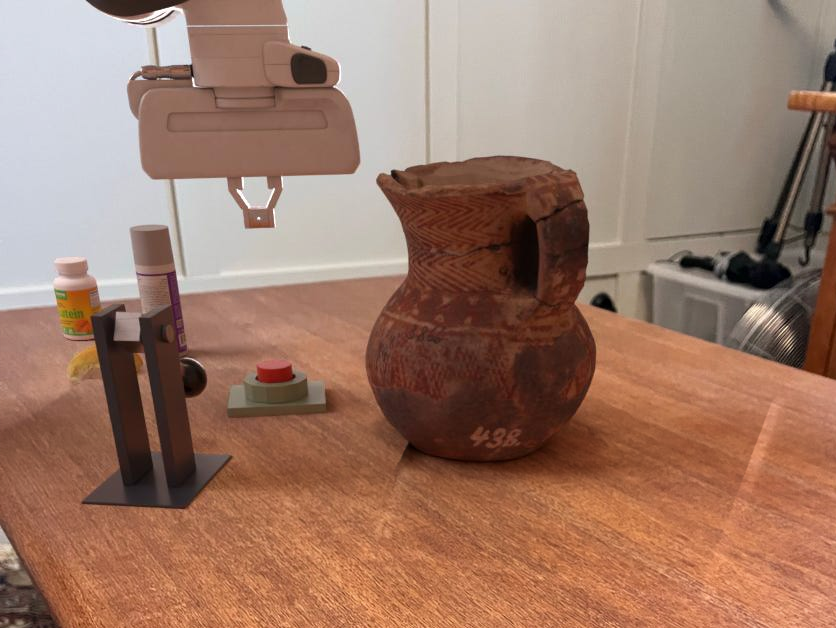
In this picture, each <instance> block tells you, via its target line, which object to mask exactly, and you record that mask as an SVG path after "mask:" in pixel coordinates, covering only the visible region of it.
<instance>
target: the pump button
mask: <svg viewBox="0 0 836 628" xmlns="http://www.w3.org/2000/svg"><path fill="white" fill-rule="evenodd" d="M292 369H293V363H292V362H291V361H289V360H286V359H268V360H263V361H260V362H258V363H257V364H256V371H257V374H258V381H259V382H262V383H282V382H287V381H291V380H292V379H293V373H292Z"/></svg>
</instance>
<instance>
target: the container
mask: <svg viewBox="0 0 836 628" xmlns="http://www.w3.org/2000/svg"><path fill="white" fill-rule="evenodd" d="M129 234H130V240H131V247H132V255H133V263H134V269H135V276H136V281H137V286H138V293H139V300H140V305H141V312H142V313H143V314H145V313H147V312H149V311H150V310H152V309H154V308H155V307H157V306H159V305H171V308H172V314H173V321H174V327H175V333H176V340H177V346H178V353H179V358H183V357H185V356H187V355H188V353H189V351H188V350H189V349H188V344H187V343H188V342H187V337H186V328H185V324H184V323H185V322H184V315H183V310H182V302H181V296H180V290H179V282H178V275H177V270H176V264H175V259H174V252H173V246H172V242H171V241H172V240H171V235H170V234H171V233H170V228H169V226H168V225H166V224H165V225H164V224H141V225H135V226H131V227H129Z"/></svg>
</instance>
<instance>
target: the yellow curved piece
mask: <svg viewBox="0 0 836 628" xmlns="http://www.w3.org/2000/svg"><path fill="white" fill-rule="evenodd" d="M133 354H134V360H135V365H136V371H137V373H138V372H139V370H140V367H141V366H144V361H143V359H142V357H141V355H140V354H139V353H133ZM66 377H67V379H68V381H69V382H70V383H71V384H72V385H74V386H78V385H79V384H81V383H82V382H84V381H85V380H91V379H92V380H102V375H101V369H100V364H99V359H98V354H97V349H96V344H93V345H92V346H89V347H87V348H85V349H83V350H81V351H79V352H77V353H76V354H75V356H73V358H72V359H71V361H70V362H69V363H68V365H67V367H66Z"/></svg>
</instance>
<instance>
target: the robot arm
mask: <svg viewBox="0 0 836 628" xmlns="http://www.w3.org/2000/svg"><path fill="white" fill-rule="evenodd" d="M85 2H86V3H88V4H89V5H90V6H92V7H93V8H94V9H96V10H97V11H98V12H100V13H102V14H103V15H106V16H108V17H110V18H112V19H115V20H118V21H119V22H122V23H124V24H126V25H129V26H131V27H136V28H140V29H141V28H142V29H152V28H159V27H161V26H163V25H166V24H168V23H170V22H172V21H174V20H175V19H176V18H177V17H178V16H179V15H180V14H181V13H182V14H183V16H184V18H185V23H186V30H187V37H188V46H189V53H190V61H191V63H190V64H171V65H162V66H161V65H160V66H159V65H158V66H157V65H154V64H153V65H152V64H149V65H148V64H147V65H142V66H140V69H139V70H137V71H135V72H133V73H132V74H131V75H130V77H129V78H128V80H127V84H126V92H127V98H128V106H129V109H130V111H131V113H132V115H133V117H134V118H135V119H136V120H137V121H138V125H137V127H138V128H137V129H138V149H139V158H140V165H141V169H142V171H143V172H144V173H145V175H147V177H149V179H151V180H155V181H156V180H158V181H161V180H190V179H191V180H193V179H195V180H197V179H226V180H227V189H228V192H229V194H230V195H231V197H232V198H233V200H234V201H235V203H236V204H237V205H238V207H239V208H240V210H242V216H243V224H244V229H245V230H248V229H249V230H251V229H252V230H253V229H275V228H276V217H275V208H276V206H277V204H278V201H279V199H280V196H281V194H282V192H283V190H284V184H283V177H300V176H303V177H304V176H337V175H338V176H339V175H353V174H355V173H356V172H357V170H358V169H359V167H360V166H361V164H362V161H361V150H360V143H359V136H358V130H357V125H356V119H355V115H354V111H353V108H352V105H351V103H350V100H349V99H348V97H347V96H346V94H345V93H344V92H343V91H342V90H341V89H340V88H338V87H337V86H338V84H339V83H340V82H341V78H342V68H341V64H340V63H339V61H338V60H337V59H336V58H335V57H332V56H329V55H327V54H325V53H324V54H323V53H320V52H318V51H314V50H312V48H311V47H309V46H305V45H300V46H299V45H296V44H293V43H292V41H291V39H290V34H289V32H290V31H289V26H288V25H289V21H288V17H287V14H286V11H285V8H284V4H283V0H85ZM139 77H141V78H142V79H138V78H139ZM264 177H266V183H267V189H268V190H272V192H271V195H270V197H269V200H268V201H267V204H266V205H263V206H262V205H261V206H251V205H250V203H248V201H247V199H246V197H245V196H244V195H243V193H242V191H243V189H244V187H245V183H244V178H264Z"/></svg>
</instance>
